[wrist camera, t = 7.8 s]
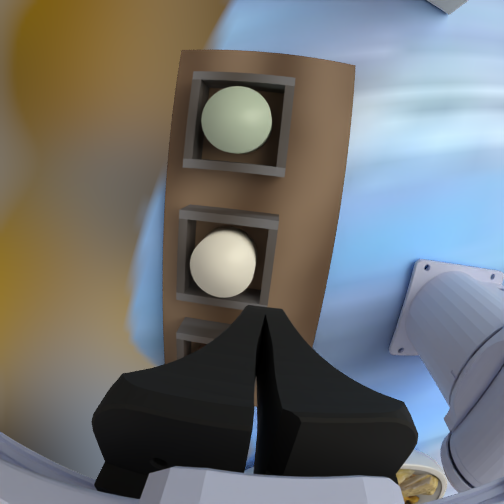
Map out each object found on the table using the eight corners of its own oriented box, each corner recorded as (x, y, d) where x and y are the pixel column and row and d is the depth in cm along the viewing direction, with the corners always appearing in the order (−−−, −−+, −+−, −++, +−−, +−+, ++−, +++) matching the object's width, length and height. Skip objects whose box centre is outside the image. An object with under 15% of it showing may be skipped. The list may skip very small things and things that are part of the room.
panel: (351, 70, 17) (364, 55, 14) (295, 400, 25) (296, 428, 21) (186, 55, 18) (170, 38, 14) (170, 382, 25) (158, 407, 22)
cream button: (260, 229, 19) (257, 240, 17) (254, 284, 20) (250, 301, 18) (202, 222, 19) (191, 232, 17) (199, 277, 20) (188, 292, 18)
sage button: (275, 98, 17) (274, 89, 14) (268, 157, 18) (267, 156, 15) (215, 94, 17) (205, 84, 14) (208, 151, 18) (198, 150, 15)
